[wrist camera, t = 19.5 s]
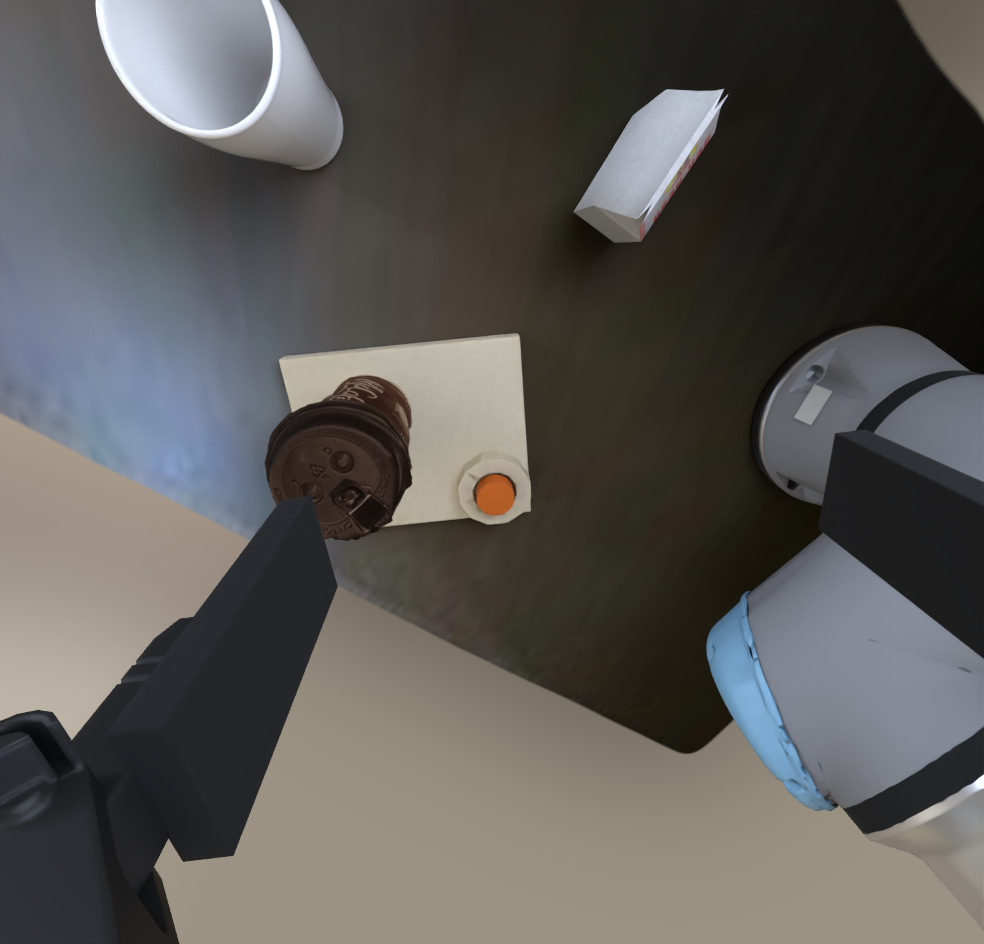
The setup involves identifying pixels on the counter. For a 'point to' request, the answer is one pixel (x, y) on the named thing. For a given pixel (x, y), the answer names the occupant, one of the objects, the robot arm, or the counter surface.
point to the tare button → (495, 495)
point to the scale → (440, 417)
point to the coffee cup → (345, 456)
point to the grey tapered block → (649, 163)
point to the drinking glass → (225, 76)
